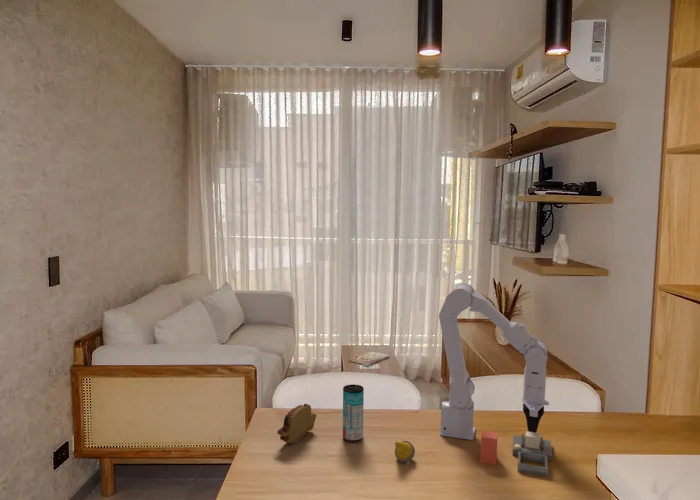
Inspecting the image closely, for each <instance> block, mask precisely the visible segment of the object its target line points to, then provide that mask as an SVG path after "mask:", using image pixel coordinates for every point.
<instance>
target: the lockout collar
mask: <svg viewBox="0 0 700 500" xmlns="http://www.w3.org/2000/svg"><path fill="white" fill-rule="evenodd" d="M521 460H522V461H526V462H533V463H538V464H539V463H540V464H544V465H543V466H539V465H532V464H527V463H521ZM548 464H549V463H548V460H547V455H540V454H534V453H528V452H521V451H518V456H517V472H518V473H525V474H530V475H537V476H542V477H549V466H548Z"/></svg>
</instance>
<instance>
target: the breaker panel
mask: <svg viewBox="0 0 700 500" xmlns="http://www.w3.org/2000/svg"><path fill="white" fill-rule="evenodd" d="M525 439H526V436H525V434H523V433H521V435H513V443H512V444H513V445H512V455H513V456H517V457H518V451H521V452H528V453H534V454H540V455H547V462H549V461H551V462H552V461H553V450H552V449H553V448H552V441H551V440H546V439H544V438H543V436H540V445H539V449H535V448H528V447H525Z"/></svg>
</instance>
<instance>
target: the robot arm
mask: <svg viewBox="0 0 700 500" xmlns="http://www.w3.org/2000/svg"><path fill="white" fill-rule="evenodd" d="M468 308H469V312H474V313H481V314H482V315H483V317H486V319H488V320H489V321H491V322H492V323H493V324H494V325H495V326H496V327H497V328H498V329H500V330H501V331H502V337H503V339H504V340H506V341H507V342H508V343H509V344H510V345H511V346H513V347H514V348H515V349H516V350H517V351H518V352H519V353H520V354H523V355H524V360H525V367H524V372H523V374H524V376H523V391H522V392H523V393H522V398H521V401H522V411H523V413H524V415H525V419H526V426H527V427H526V428H527V430H528V432H535V433H538V428H539V424H540V421H541V418H542V416H543V415H544V414H545V406H549V405H550V401H549V400H548V399H547V400H546V387H547V386H546V385H547V362H548V359H549V358H548V348H547V346H546V344H545V343H544V342H543V341H542V340H540V339H539V338H538V337H537V336H535V337H534V336H533V335H532V334H531V333H530V332H529V331H528V330H527V329H526V325H524V324H523V323H518V322H517V321H510V320H509V319H508V318H507V317H506V316H505V315H504V314H502V313H501V312H500V310H499V309H498V308H497V307H496V306H495V305H493V304H492V303H491V302H490V301H489V300H488V299H487V298H486V296H484V295H483V294H482V293H481V292H480V291H478V290H477V289H476V290H475V289H474V287H473V286H472V285H470V284H467V283H460V284H459V285H457V286H455V287H454V289H453V290H452V291H451V292H449V294H447V296H445V299H444V303H443V304H442V306H441V309H440V311H439V314H438V317H439V325H440V330H441V335H442V341H443V345H444V350H445V355H446V361H447V366H448V371H449V381H448V383H449V391H448V401H442V403H441V410H440V433H439V435H440V436H442V437H443V436H444V437H449V438H456V439H461V440H462V439H464V440H469V441H473V440H474V437H475V433H476V427H475V426H474V417H475V416H474V413H475V403H474V400H473V398H472V396H473V394H474V393H475V384H474V382H473V381H472V380H471V378H470V373H469V371H468V370H467V366H466V361H465V355H464V349H463V344H462V340H461V334H460V328H459V323H458V319H457V318H458V317H459V316H460V315H461V313H462V312H463V311H465V310H467V309H468Z"/></svg>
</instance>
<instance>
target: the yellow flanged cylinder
mask: <svg viewBox="0 0 700 500" xmlns="http://www.w3.org/2000/svg"><path fill="white" fill-rule="evenodd" d="M394 447H395V449H394V455H395V458H396V459H397V460H398V461H399V462H400V463H408V462H410V461H412V459H413V458H414V457H415V454H416V450H415V446H414V445H413V444H412V443H411V442H410V441H407V440H404V441H395V442H394Z"/></svg>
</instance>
